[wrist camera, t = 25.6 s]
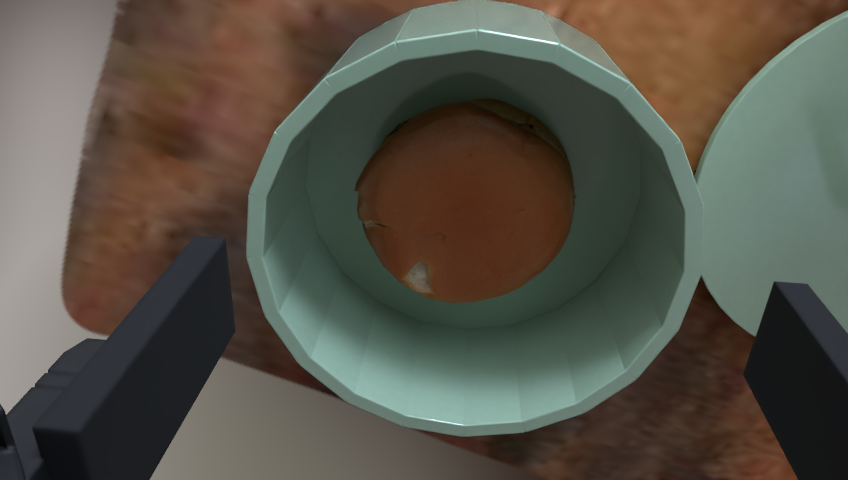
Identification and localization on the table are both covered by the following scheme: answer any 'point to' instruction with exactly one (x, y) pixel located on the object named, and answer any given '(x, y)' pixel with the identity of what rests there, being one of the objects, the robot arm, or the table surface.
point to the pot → (504, 315)
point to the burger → (467, 200)
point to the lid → (781, 181)
